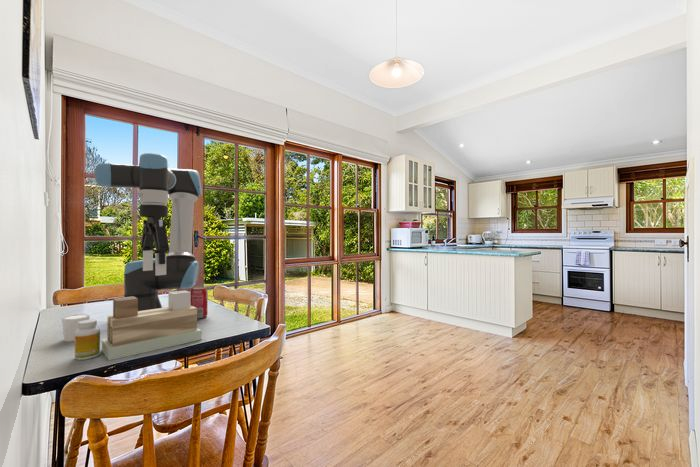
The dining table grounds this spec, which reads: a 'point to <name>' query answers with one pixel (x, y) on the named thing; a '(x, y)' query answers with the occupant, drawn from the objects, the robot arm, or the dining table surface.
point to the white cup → (72, 326)
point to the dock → (149, 344)
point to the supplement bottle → (87, 340)
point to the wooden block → (150, 325)
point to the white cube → (179, 300)
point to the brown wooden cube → (125, 307)
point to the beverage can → (200, 300)
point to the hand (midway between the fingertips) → (154, 272)
